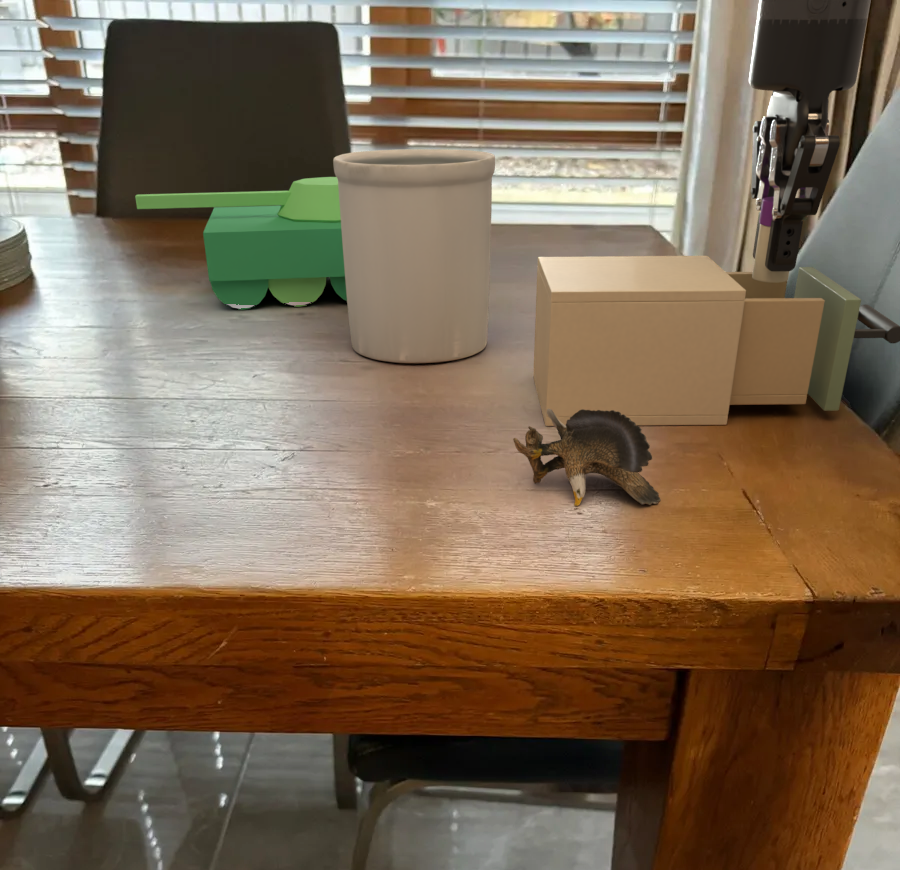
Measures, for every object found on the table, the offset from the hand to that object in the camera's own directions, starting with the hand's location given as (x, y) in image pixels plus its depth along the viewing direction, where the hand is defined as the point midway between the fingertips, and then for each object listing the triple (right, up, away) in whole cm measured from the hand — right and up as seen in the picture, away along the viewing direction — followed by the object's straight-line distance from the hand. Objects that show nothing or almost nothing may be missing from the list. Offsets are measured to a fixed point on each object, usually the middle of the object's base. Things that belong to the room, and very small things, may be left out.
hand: (772, 264), depth 78 cm
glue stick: (0, -1, +1) cm, 1 cm away
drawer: (+1, -9, +5) cm, 10 cm away
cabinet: (-11, -10, +6) cm, 16 cm away
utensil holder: (-29, -1, +20) cm, 35 cm away
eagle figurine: (-16, -20, -11) cm, 28 cm away
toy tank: (-44, +10, +40) cm, 61 cm away
